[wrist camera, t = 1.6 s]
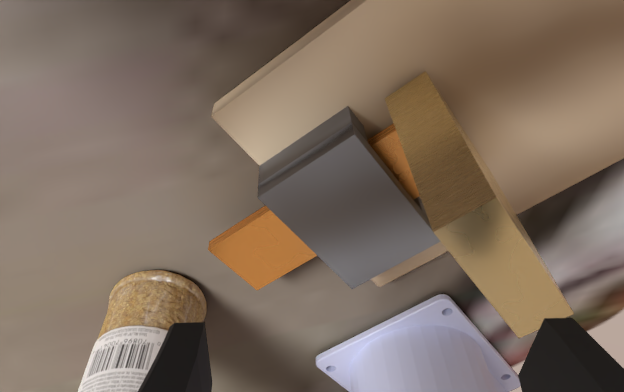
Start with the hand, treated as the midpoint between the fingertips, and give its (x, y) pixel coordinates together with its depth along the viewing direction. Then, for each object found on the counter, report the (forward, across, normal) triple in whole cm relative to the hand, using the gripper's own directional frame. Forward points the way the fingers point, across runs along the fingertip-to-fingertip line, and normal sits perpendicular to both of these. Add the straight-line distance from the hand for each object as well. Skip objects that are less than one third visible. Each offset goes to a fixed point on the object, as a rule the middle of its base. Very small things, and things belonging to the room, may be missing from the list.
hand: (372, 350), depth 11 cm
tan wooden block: (+9, 0, +3) cm, 9 cm away
